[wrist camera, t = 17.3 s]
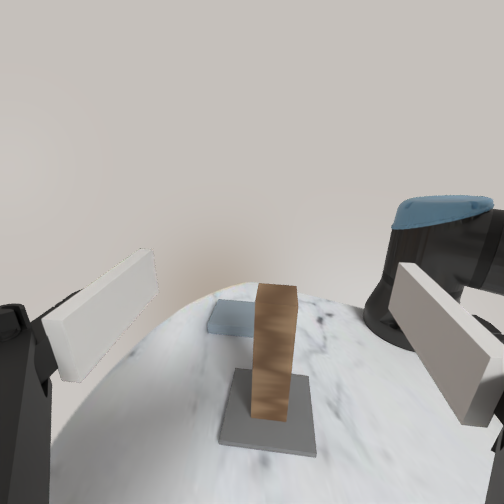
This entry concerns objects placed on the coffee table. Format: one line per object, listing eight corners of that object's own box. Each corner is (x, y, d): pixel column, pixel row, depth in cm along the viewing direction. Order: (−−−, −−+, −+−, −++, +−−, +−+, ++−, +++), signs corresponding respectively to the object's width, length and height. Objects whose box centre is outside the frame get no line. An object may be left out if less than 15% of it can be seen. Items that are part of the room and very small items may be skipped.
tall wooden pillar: (286, 392, 34) (296, 286, 28) (286, 422, 30) (298, 306, 25) (254, 388, 34) (258, 283, 29) (250, 417, 30) (254, 302, 25)
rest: (307, 379, 36) (308, 376, 36) (315, 457, 27) (316, 453, 27) (235, 371, 37) (235, 368, 37) (219, 444, 28) (219, 440, 28)
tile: (267, 340, 44) (269, 313, 52) (267, 329, 44) (270, 303, 51) (207, 334, 45) (218, 308, 53) (207, 323, 45) (218, 299, 52)
